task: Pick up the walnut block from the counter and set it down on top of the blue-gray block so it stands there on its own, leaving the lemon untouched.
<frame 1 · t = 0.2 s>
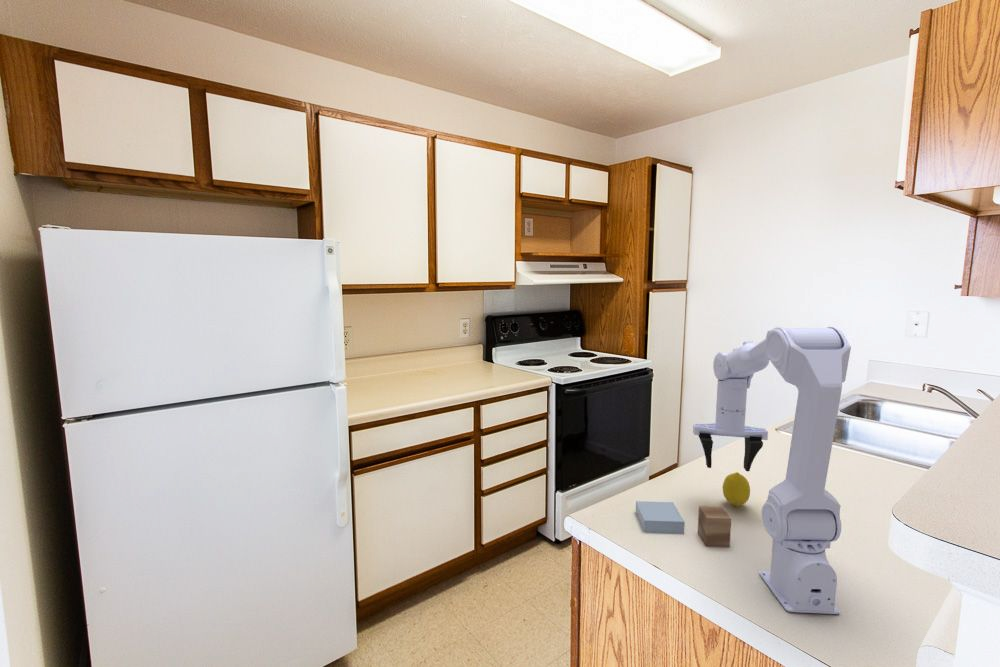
hand: (727, 467, 102), 10 cm above the counter, tool pointing down, fingers open, 7 cm apart
lemon: (735, 507, 105), on the counter
walnut block: (713, 540, 92), on the counter
blue-gray block: (658, 524, 98), on the counter
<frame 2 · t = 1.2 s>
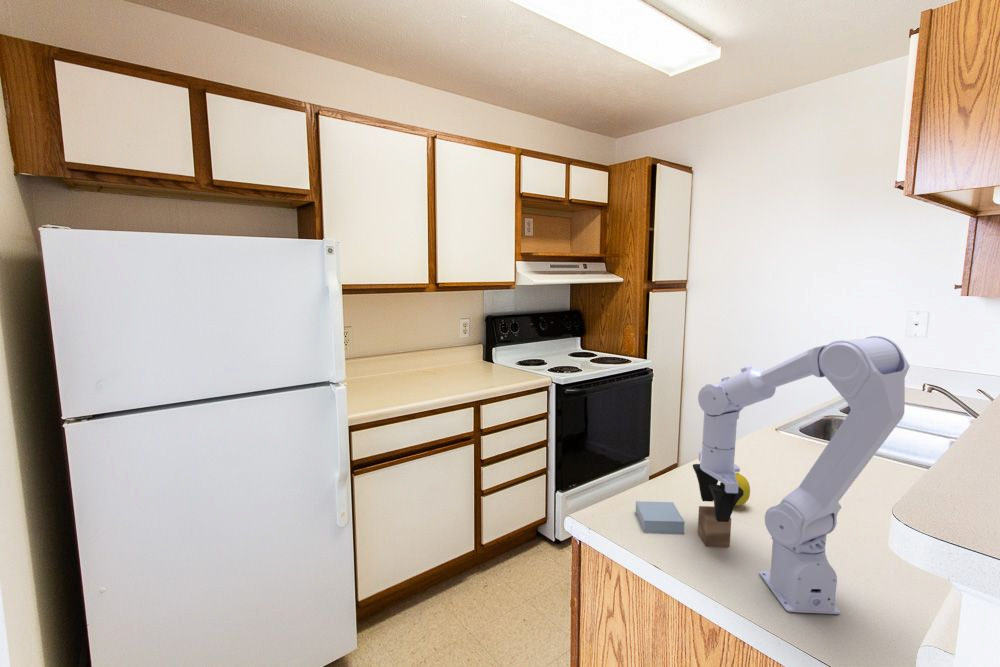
hand: (714, 510, 91), 6 cm above the counter, tool pointing down, fingers open, 7 cm apart
nothing on the counter moved.
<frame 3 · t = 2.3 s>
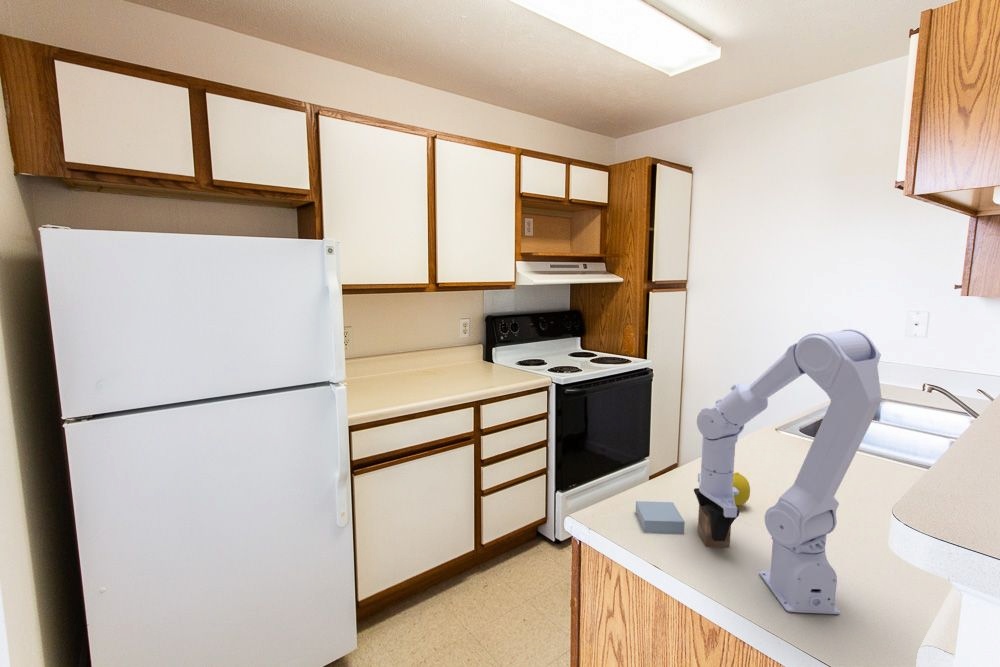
hand: (713, 532, 91), 2 cm above the counter, tool pointing down, fingers closed on walnut block, 4 cm apart
walnut block: (713, 540, 92), on the counter, touching gripper
everything else where it was.
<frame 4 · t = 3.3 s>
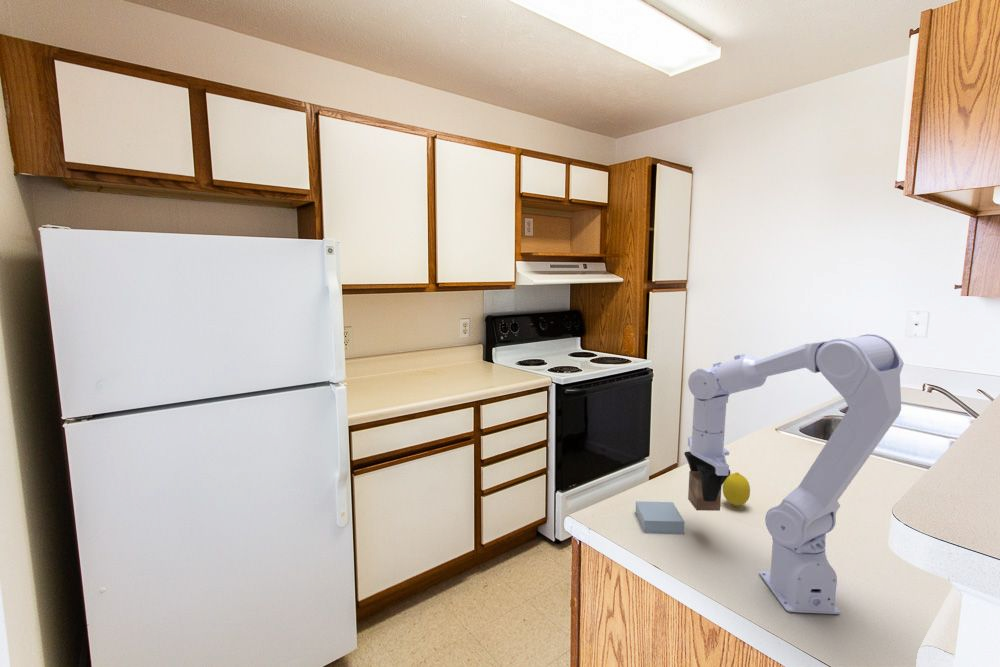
hand: (704, 494, 92), 9 cm above the counter, tool pointing down, fingers closed on walnut block, 4 cm apart
walnut block: (703, 504, 92), point 7 cm above the counter, touching gripper
everything else where it was.
when the fingers open (6 cm above the counter, at t = 4.7 s): walnut block drops 1 cm, resting on blue-gray block.
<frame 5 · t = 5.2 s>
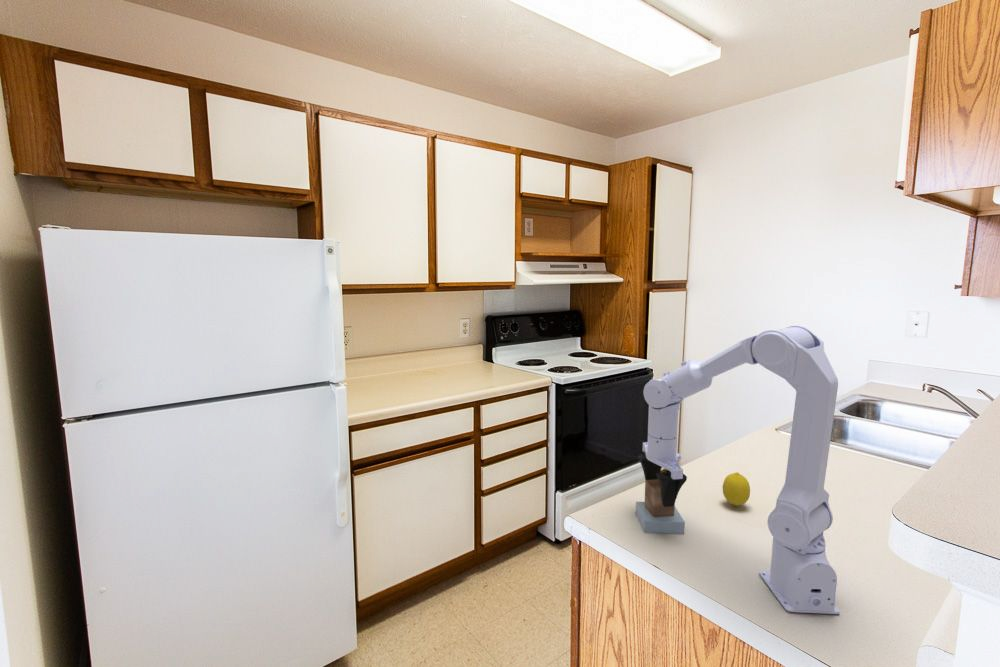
hand: (659, 496, 97), 6 cm above the counter, tool pointing down, fingers open, 7 cm apart
walnut block: (659, 511, 98), point 2 cm above the counter, touching blue-gray block
blue-gray block: (658, 524, 98), on the counter, touching walnut block
everything else where it was.
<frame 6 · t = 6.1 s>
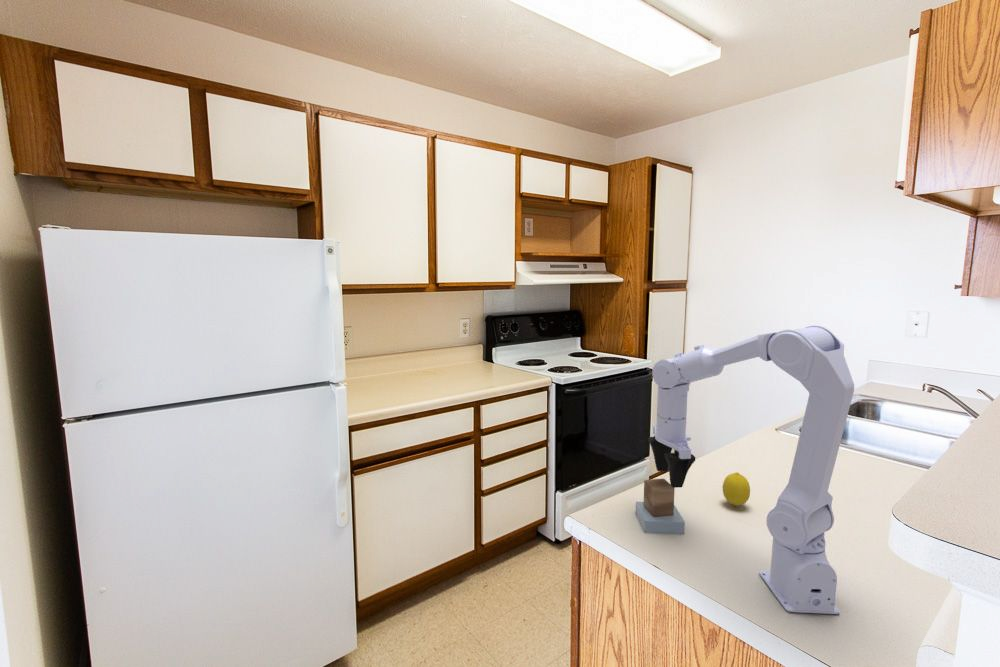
hand: (669, 478, 97), 10 cm above the counter, tool pointing down, fingers open, 7 cm apart
nothing on the counter moved.
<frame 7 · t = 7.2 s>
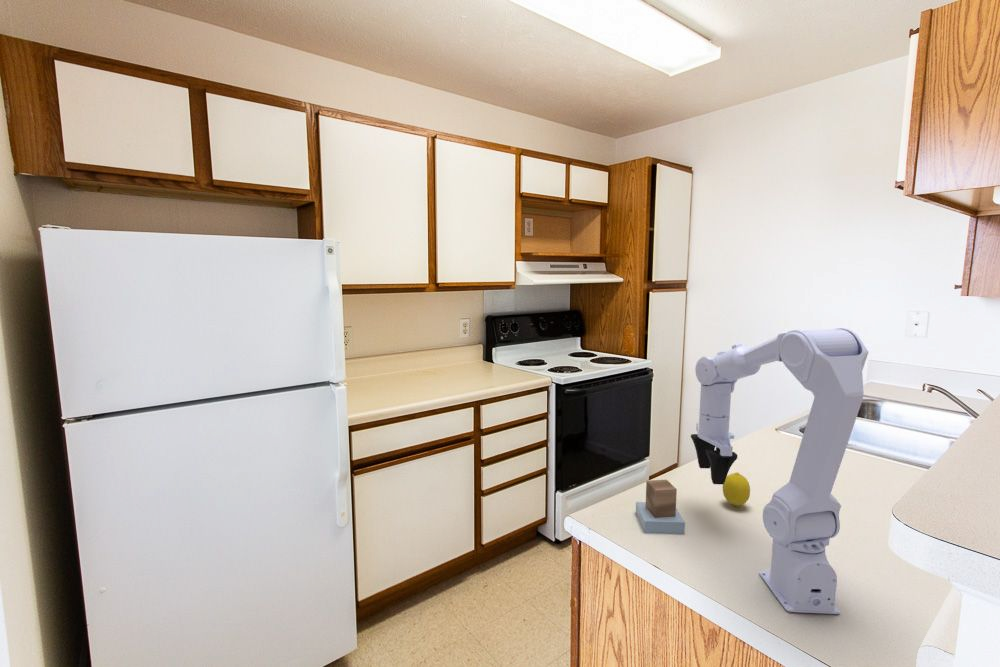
hand: (711, 475, 98), 10 cm above the counter, tool pointing down, fingers open, 7 cm apart
walnut block: (660, 511, 98), point 2 cm above the counter
blue-gray block: (658, 524, 98), on the counter
everything else where it was.
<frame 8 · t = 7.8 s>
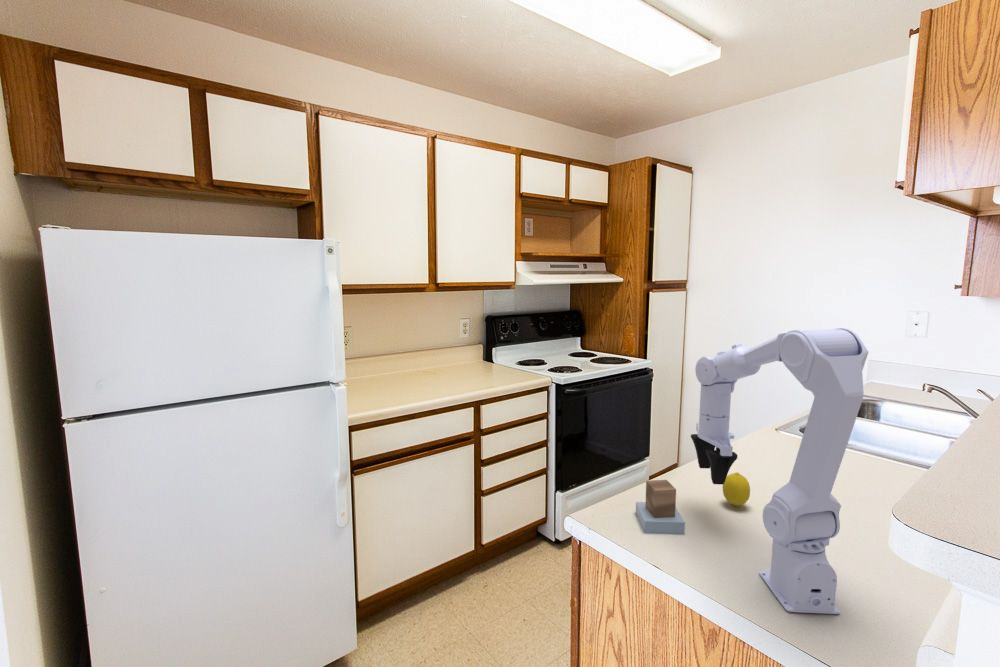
hand: (711, 475, 98), 10 cm above the counter, tool pointing down, fingers open, 7 cm apart
walnut block: (659, 511, 98), point 3 cm above the counter, touching blue-gray block
blue-gray block: (658, 525, 98), on the counter, touching walnut block
everything else where it was.
at the end: walnut block 0.1 cm off-centre on the blue-gray block, point 3.0 cm above the blue-gray block's base; walnut block tilted 0°; the gripper is holding nothing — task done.
